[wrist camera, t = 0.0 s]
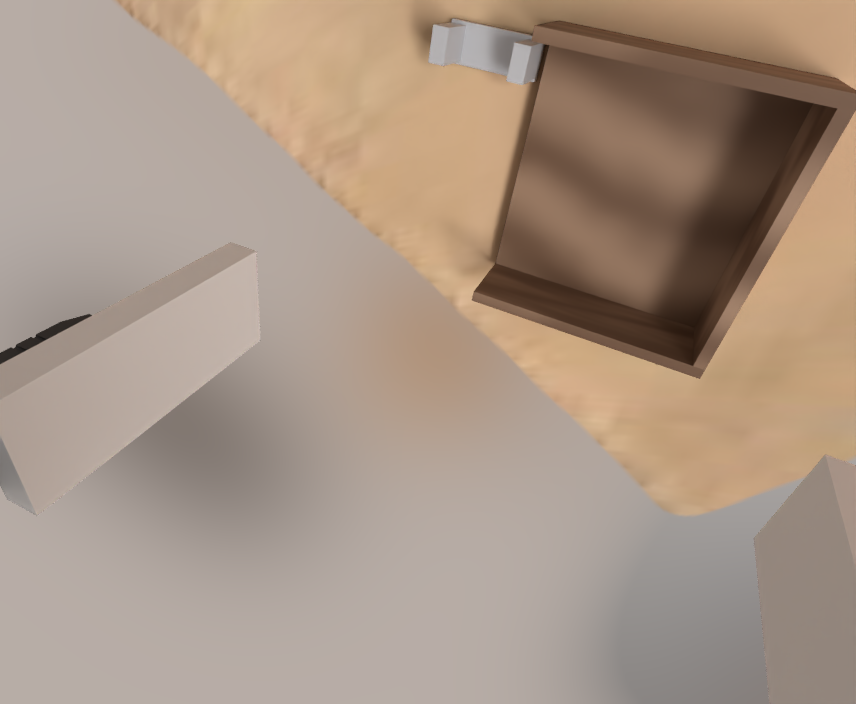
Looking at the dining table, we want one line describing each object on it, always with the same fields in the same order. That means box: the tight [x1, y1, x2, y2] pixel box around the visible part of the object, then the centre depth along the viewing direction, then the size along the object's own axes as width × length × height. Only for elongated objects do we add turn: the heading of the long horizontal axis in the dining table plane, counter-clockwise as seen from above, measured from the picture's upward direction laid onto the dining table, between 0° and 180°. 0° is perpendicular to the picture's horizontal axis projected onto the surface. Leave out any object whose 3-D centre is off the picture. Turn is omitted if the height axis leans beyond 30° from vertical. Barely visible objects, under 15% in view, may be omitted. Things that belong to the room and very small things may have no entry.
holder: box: [472, 21, 856, 379], centre depth 33 cm, size 16×15×6 cm
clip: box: [428, 18, 545, 85], centre depth 33 cm, size 2×6×4 cm, turn 81°
